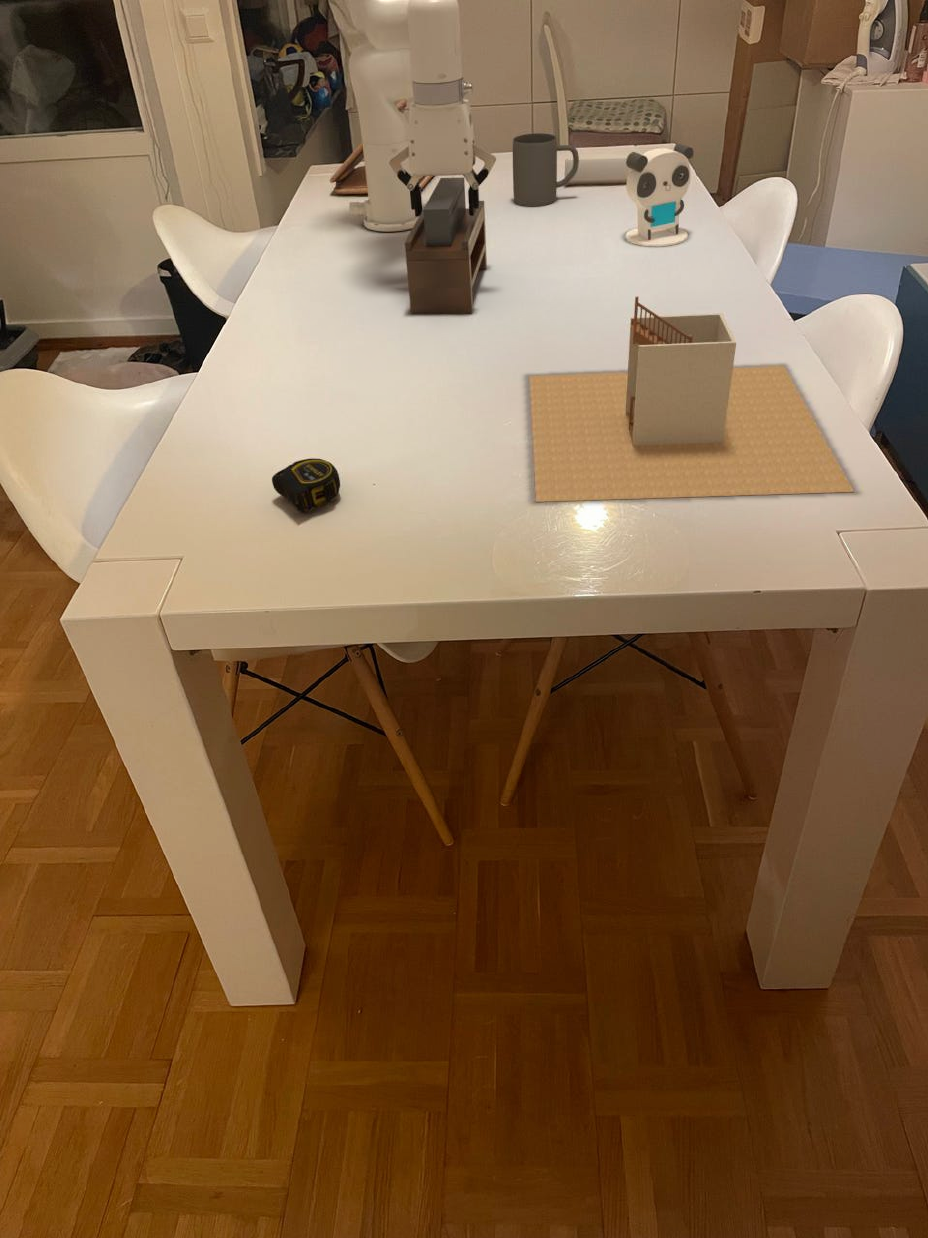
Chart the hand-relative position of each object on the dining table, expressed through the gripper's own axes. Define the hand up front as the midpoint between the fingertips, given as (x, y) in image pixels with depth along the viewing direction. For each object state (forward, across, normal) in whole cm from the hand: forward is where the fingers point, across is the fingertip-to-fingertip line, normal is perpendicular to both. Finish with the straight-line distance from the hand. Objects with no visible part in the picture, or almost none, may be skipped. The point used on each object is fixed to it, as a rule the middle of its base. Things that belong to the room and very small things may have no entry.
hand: (445, 213), depth 150 cm
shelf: (+12, 0, 0) cm, 12 cm away
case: (+14, +25, -68) cm, 73 cm away
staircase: (+11, -35, +50) cm, 62 cm away
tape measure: (+11, +7, +69) cm, 70 cm away
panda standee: (+13, -35, -25) cm, 45 cm away
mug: (+13, -13, -51) cm, 55 cm away
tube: (+13, -29, -63) cm, 71 cm away
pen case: (+2, 0, 0) cm, 2 cm away
